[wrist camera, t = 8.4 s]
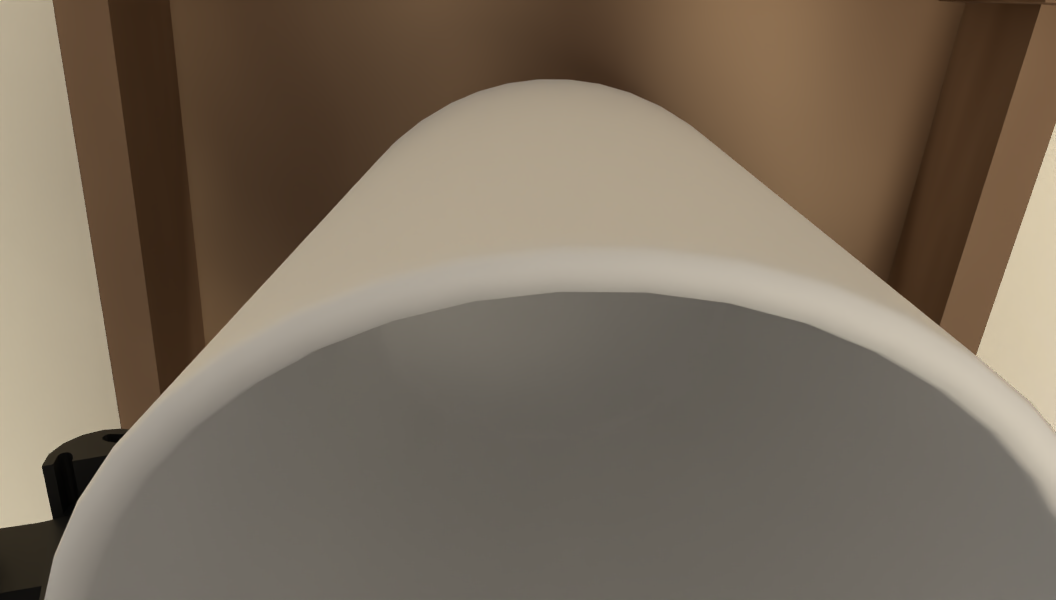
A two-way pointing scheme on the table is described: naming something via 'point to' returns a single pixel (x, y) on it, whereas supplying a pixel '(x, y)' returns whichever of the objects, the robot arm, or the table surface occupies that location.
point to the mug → (571, 397)
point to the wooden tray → (529, 54)
